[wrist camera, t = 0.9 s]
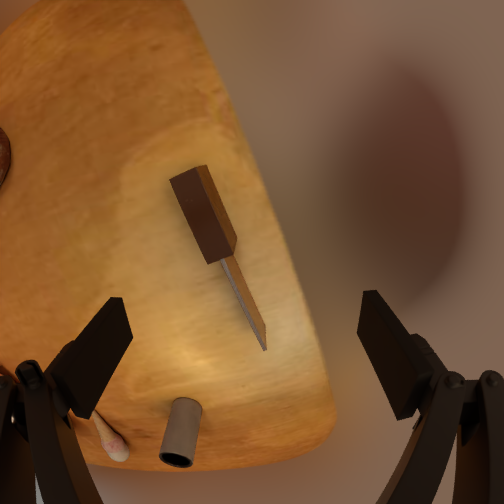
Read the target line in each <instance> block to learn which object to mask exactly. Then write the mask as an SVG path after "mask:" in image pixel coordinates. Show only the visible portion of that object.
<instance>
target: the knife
mask: <svg viewBox="0 0 504 504" xmlns="http://www.w3.org/2000/svg"><path fill="white" fill-rule="evenodd" d="M169 181H170V183H171V185H172V188H173V190H174V192H175V195H176V197H177V199H178V201H179V204H180V206H181V208H182V210H183V213H184V215H185V217H186V219H187V221H188V224H189V226H190V228H191V230H192V232H193V235H194V237H195V239H196V241H197V243H198V245H199V248H200V250H201V252H202V254H203V256H204V258H205V260H206V262H207V264H211V263H213V262H216V261H219V260H220V261H221V263H222V266H223V268H224V270H225V272H226V274H227V276H228V279H229V281H230V283H231V285H232V287H233V289H234V291H235V293H236V295H237V298H238V300H239V302H240V304H241V306H242V308H243V310H244V312H245V314H246V316H247V318H248V320H249V322H250V325H251V327H252V329H253V331H254V333H255V335H256V337H257V339H258V341H259V343H260V345H261V347H262V349H263V351H265V350H267V342H266V326H265V323H264V321H263V319H262V317H261V315H260V312H259V310H258V308H257V306H256V304H255V301H254V299H253V297H252V295H251V293H250V290H249V288H248V286H247V284H246V281H245V279H244V277H243V275H242V273H241V270H240V268H239V266H238V264H237V261H236V259H235V257H234V251H235V246H236V241H237V236H236V234H235V231H234V229H233V227H232V224H231V222H230V220H229V217H228V215H227V213H226V210H225V208H224V206H223V203H222V201H221V199H220V196H219V194H218V191H217V189H216V187H215V184H214V182H213V180H212V177H211V175H210V173H209V170H208V168H207V165H202V166H198V167H195V168H193V169H190V170H188V171H186V172H184V173H182V174H179V175H177V176H175V177H173V178H171V179H169Z"/></svg>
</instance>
